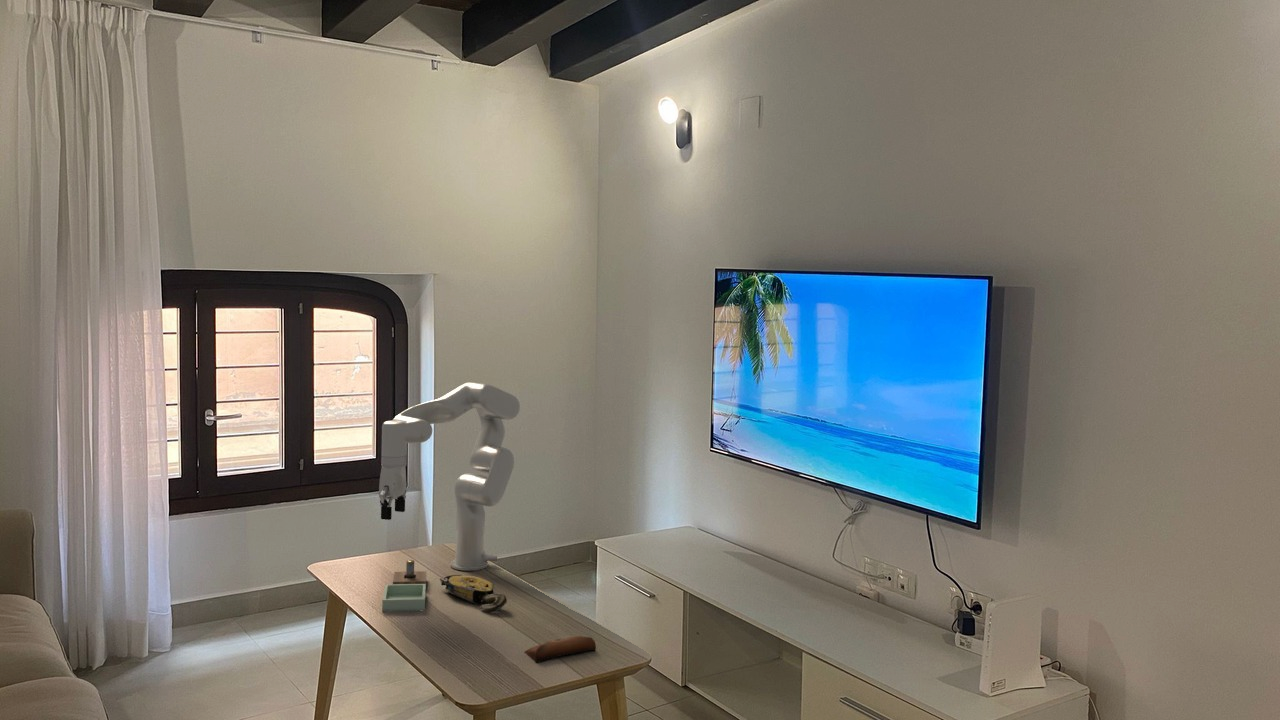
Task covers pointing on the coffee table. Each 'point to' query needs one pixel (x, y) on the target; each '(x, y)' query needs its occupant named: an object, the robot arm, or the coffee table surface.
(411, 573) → the pin
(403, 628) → the coffee table surface
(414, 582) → the block
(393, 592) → the tray
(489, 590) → the pulley block
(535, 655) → the sunglasses case
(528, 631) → the coffee table surface
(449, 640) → the coffee table surface
